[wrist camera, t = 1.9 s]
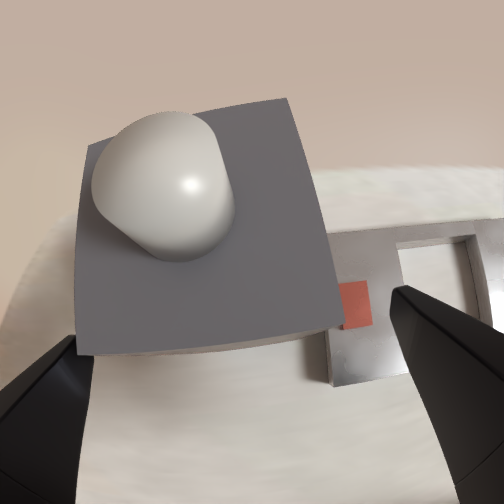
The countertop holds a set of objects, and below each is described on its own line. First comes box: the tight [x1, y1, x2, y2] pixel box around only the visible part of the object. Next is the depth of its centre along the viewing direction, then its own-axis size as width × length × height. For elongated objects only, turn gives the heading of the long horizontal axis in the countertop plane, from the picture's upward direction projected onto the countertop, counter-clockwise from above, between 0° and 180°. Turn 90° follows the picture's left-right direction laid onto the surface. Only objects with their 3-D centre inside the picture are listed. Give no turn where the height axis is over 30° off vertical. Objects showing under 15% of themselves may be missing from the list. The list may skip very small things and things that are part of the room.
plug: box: [74, 98, 346, 356], centre depth 10 cm, size 4×4×14 cm
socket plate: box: [324, 218, 504, 387], centre depth 15 cm, size 16×8×2 cm, turn 95°
